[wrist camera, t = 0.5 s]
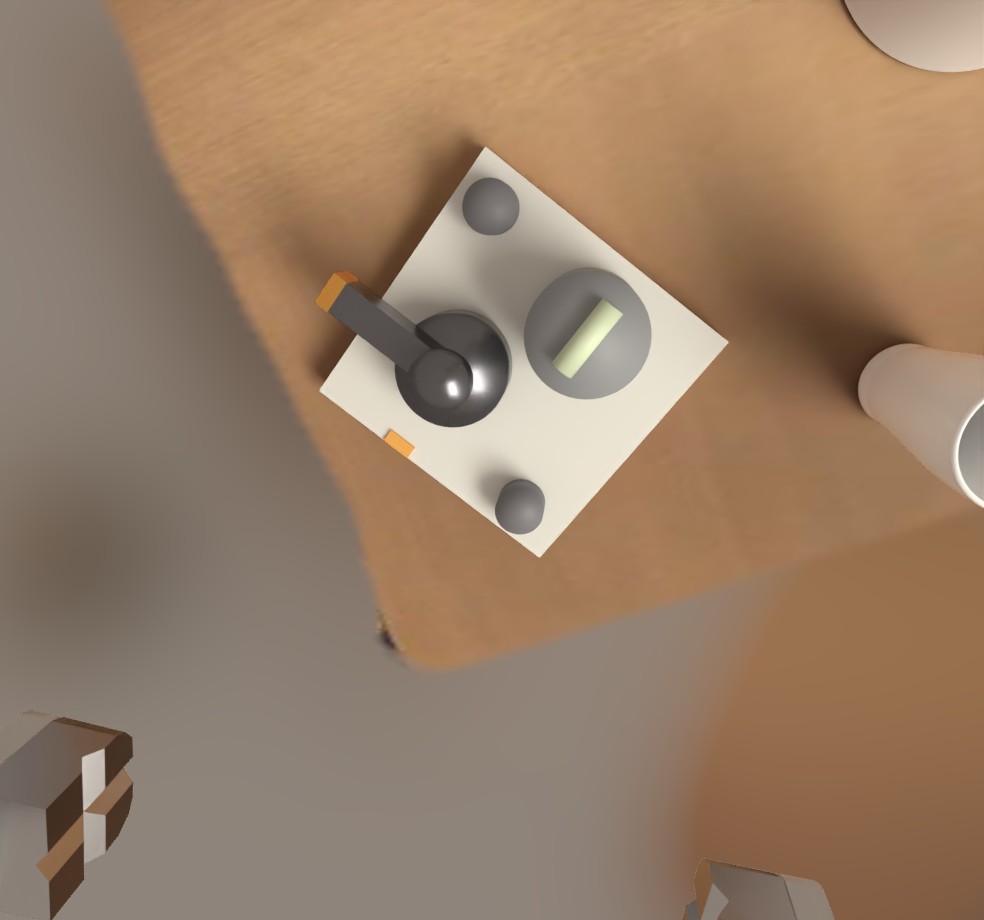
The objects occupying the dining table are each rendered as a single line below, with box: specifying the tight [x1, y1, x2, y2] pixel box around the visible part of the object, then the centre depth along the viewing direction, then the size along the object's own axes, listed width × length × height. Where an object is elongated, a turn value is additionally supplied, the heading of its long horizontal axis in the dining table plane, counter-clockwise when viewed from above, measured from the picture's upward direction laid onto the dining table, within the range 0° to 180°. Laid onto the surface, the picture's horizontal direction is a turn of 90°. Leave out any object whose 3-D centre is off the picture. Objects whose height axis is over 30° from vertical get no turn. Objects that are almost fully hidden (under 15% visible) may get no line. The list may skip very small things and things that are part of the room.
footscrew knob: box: [315, 271, 513, 428], centre depth 44 cm, size 12×7×7 cm, turn 53°
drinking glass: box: [858, 344, 984, 508], centre depth 40 cm, size 7×7×15 cm
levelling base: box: [319, 147, 729, 558], centre depth 45 cm, size 19×19×9 cm
